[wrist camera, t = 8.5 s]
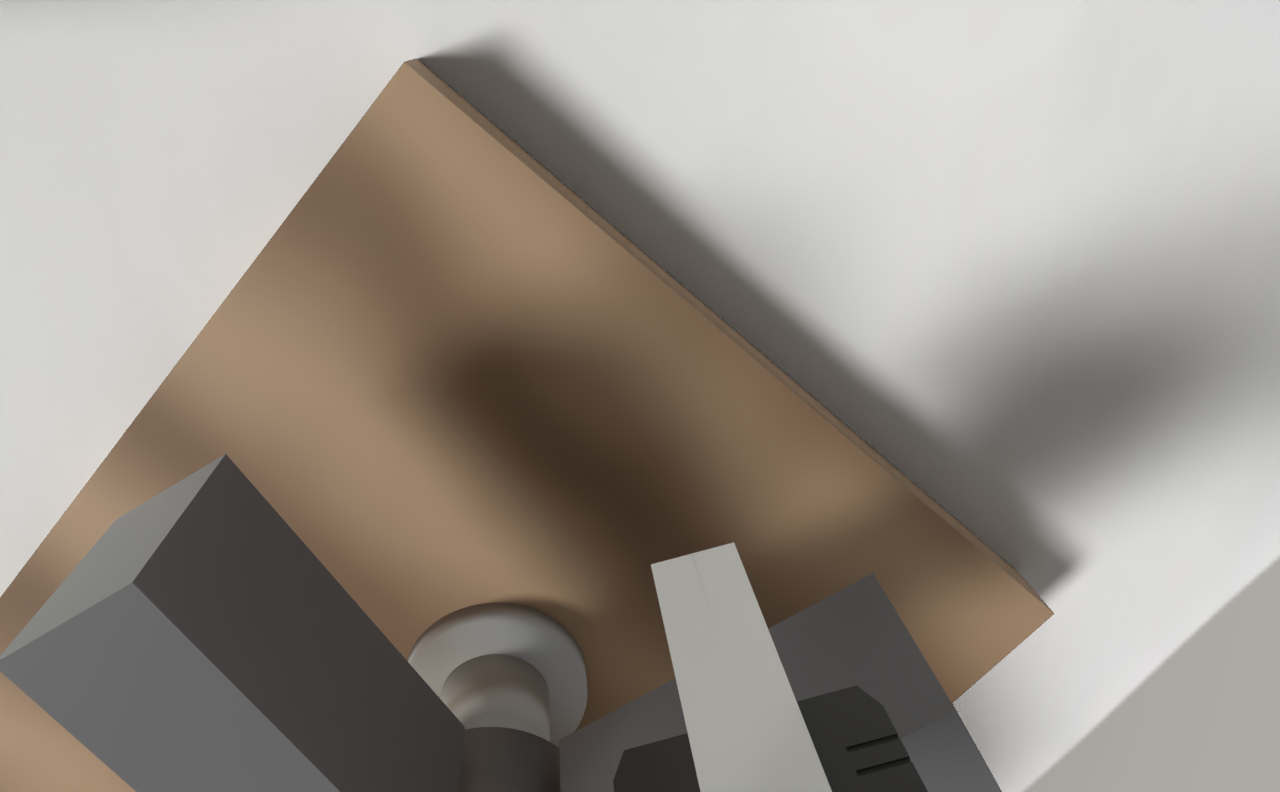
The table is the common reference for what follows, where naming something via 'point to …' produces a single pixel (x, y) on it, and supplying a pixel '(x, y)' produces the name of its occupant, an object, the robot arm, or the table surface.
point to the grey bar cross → (365, 671)
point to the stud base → (510, 445)
